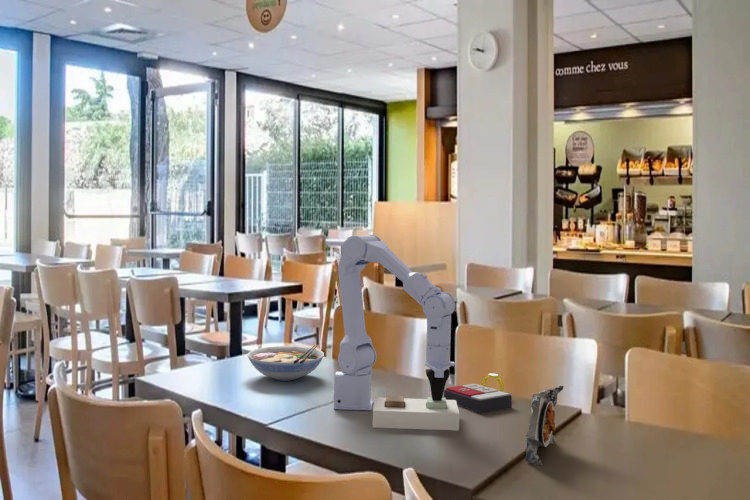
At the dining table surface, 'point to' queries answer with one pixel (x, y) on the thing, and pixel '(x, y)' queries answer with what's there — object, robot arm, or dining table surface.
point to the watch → (494, 377)
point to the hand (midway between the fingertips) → (436, 400)
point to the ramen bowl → (285, 361)
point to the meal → (541, 423)
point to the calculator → (479, 398)
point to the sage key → (436, 403)
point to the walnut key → (395, 401)
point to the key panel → (415, 415)
